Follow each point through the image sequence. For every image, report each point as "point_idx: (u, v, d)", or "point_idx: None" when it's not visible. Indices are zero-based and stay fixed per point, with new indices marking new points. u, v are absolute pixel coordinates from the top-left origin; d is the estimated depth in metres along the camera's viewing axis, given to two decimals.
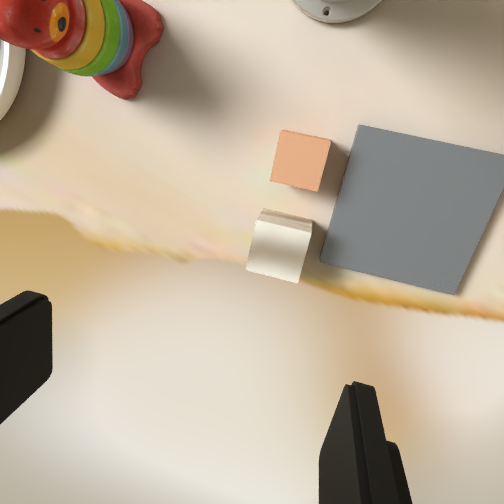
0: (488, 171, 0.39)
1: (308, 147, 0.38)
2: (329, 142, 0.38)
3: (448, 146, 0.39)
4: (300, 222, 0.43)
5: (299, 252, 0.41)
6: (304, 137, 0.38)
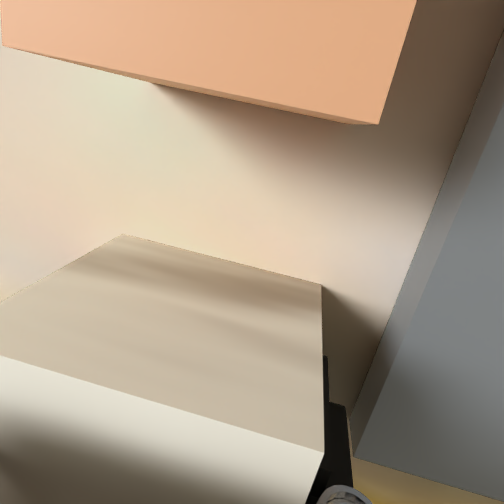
0: None
1: None
2: None
3: None
4: (259, 320, 0.08)
5: None
6: None
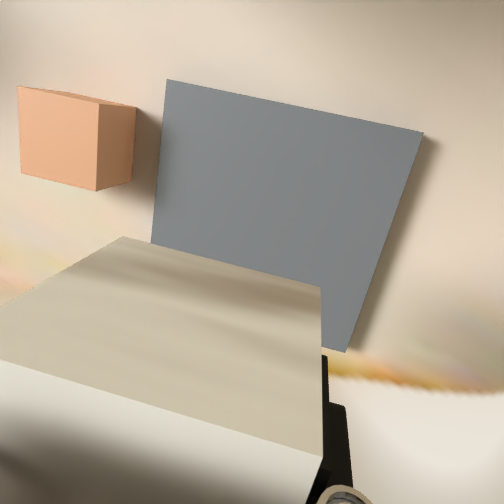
0: (378, 156, 0.23)
1: (65, 115, 0.22)
2: (96, 105, 0.22)
3: (310, 114, 0.23)
4: (259, 323, 0.08)
5: None
6: (56, 97, 0.22)
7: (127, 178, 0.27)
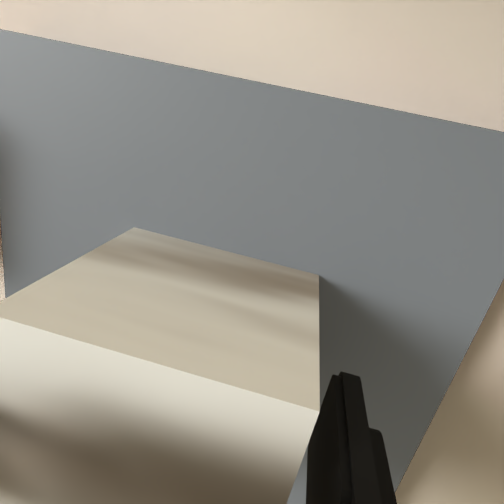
0: (455, 199, 0.10)
1: None
2: None
3: (300, 103, 0.10)
4: (262, 304, 0.09)
5: (244, 497, 0.07)
6: None
7: None
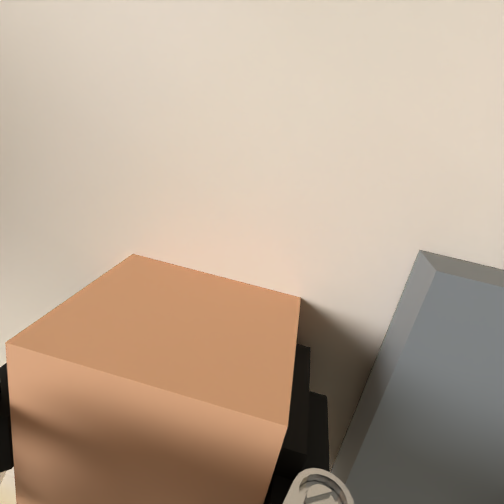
0: None
1: (163, 434, 0.07)
2: (278, 429, 0.06)
3: None
4: None
5: None
6: (135, 389, 0.07)
7: None
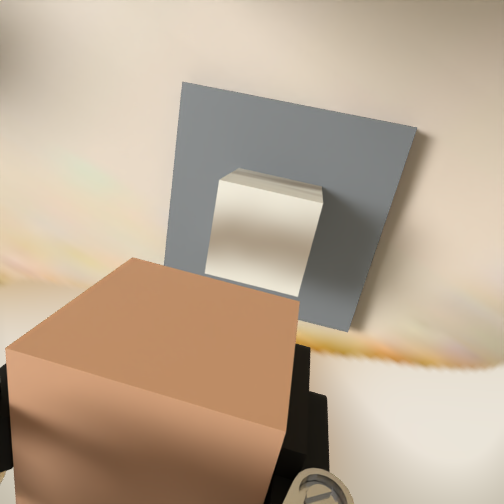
0: (376, 150, 0.25)
1: (162, 439, 0.07)
2: (276, 435, 0.06)
3: (313, 112, 0.25)
4: (300, 188, 0.24)
5: (299, 240, 0.22)
6: (134, 394, 0.07)
7: None
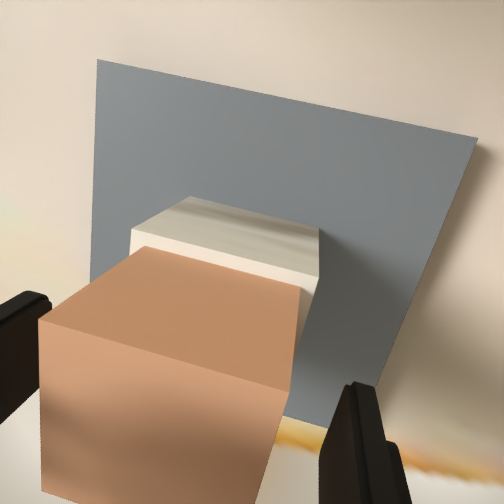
0: (407, 173, 0.16)
1: (178, 402, 0.08)
2: (281, 395, 0.07)
3: (306, 110, 0.15)
4: (283, 238, 0.14)
5: None
6: (154, 360, 0.07)
7: None
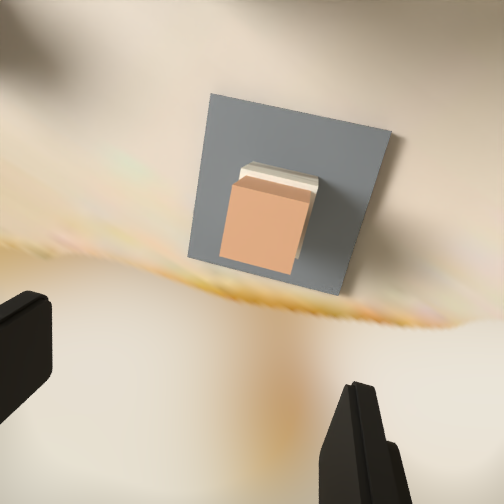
0: (360, 148, 0.33)
1: (275, 210, 0.25)
2: (307, 204, 0.24)
3: (312, 118, 0.33)
4: (302, 176, 0.32)
5: None
6: (268, 196, 0.25)
7: None
